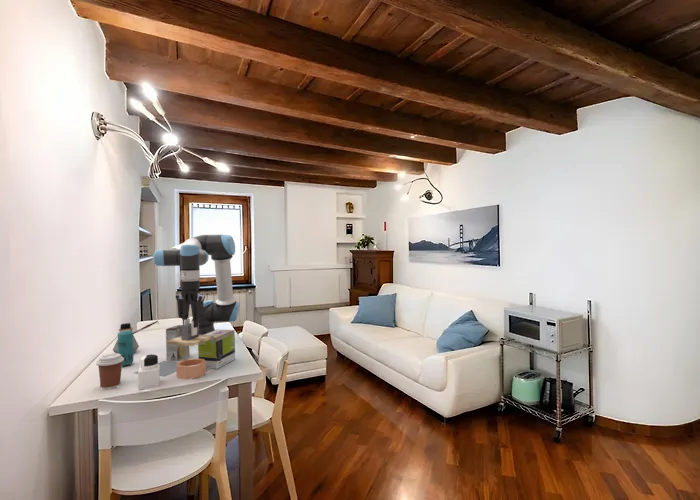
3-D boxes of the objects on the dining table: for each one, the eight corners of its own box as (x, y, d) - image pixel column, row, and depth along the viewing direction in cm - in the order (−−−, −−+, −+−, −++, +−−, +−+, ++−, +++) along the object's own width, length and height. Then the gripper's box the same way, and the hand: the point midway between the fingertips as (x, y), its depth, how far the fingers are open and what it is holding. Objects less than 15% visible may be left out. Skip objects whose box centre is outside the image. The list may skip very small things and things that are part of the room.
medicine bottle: (159, 381, 142) (159, 352, 142) (159, 387, 136) (159, 356, 136) (139, 384, 139) (139, 354, 139) (138, 390, 133) (138, 359, 133)
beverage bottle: (119, 365, 163) (118, 322, 163) (135, 363, 165) (135, 321, 165) (115, 369, 157) (115, 325, 157) (132, 367, 159) (131, 324, 159)
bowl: (189, 369, 156) (189, 357, 156) (210, 371, 153) (210, 359, 153) (170, 378, 145) (170, 365, 145) (192, 381, 142) (192, 367, 142)
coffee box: (178, 356, 176) (178, 324, 176) (189, 356, 175) (189, 325, 175) (165, 361, 167) (165, 328, 167) (177, 362, 166) (177, 329, 166)
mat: (163, 362, 167) (163, 360, 167) (193, 365, 162) (193, 363, 162) (132, 374, 150) (132, 373, 150) (164, 377, 146) (164, 376, 146)
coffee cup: (125, 386, 137) (125, 356, 137) (97, 392, 131) (96, 361, 131) (122, 379, 144) (122, 351, 144) (95, 385, 138) (95, 355, 138)
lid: (188, 336, 157) (188, 320, 157) (213, 338, 153) (213, 322, 153) (166, 343, 144) (166, 326, 144) (192, 346, 141) (192, 328, 141)
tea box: (218, 358, 173) (218, 328, 173) (235, 359, 170) (235, 329, 170) (197, 368, 158) (197, 335, 158) (216, 369, 156) (216, 337, 156)
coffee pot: (114, 357, 174) (114, 328, 174) (111, 352, 183) (111, 324, 183) (161, 349, 188) (161, 322, 188) (156, 345, 197) (156, 319, 197)
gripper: (168, 280, 147) (168, 335, 147) (200, 281, 143) (200, 338, 143) (181, 279, 155) (181, 331, 155) (211, 279, 150) (212, 333, 150)
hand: (190, 334), depth 149 cm, fingers closed on lid, 3 cm apart
